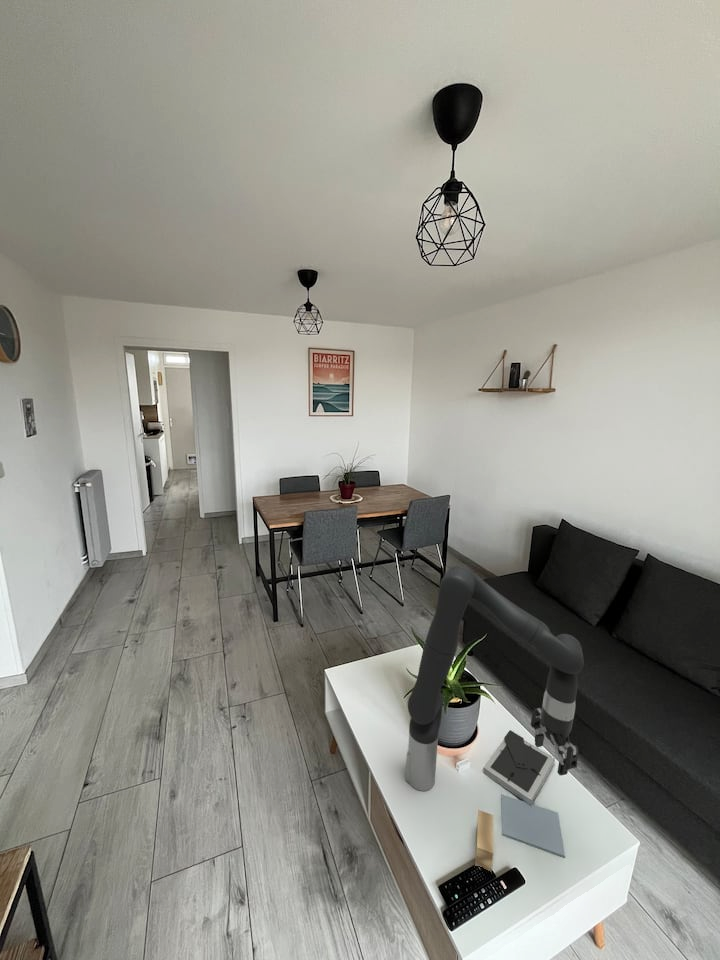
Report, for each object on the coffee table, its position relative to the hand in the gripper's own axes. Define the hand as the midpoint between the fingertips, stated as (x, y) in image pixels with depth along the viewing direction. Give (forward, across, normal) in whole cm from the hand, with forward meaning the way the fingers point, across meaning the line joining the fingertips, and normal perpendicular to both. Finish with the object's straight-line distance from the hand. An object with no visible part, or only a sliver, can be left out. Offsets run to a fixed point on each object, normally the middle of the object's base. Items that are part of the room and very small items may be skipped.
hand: (549, 759), depth 103 cm
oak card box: (+25, 0, -18) cm, 31 cm away
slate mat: (+25, -2, 0) cm, 25 cm away
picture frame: (+25, -18, +8) cm, 32 cm away
